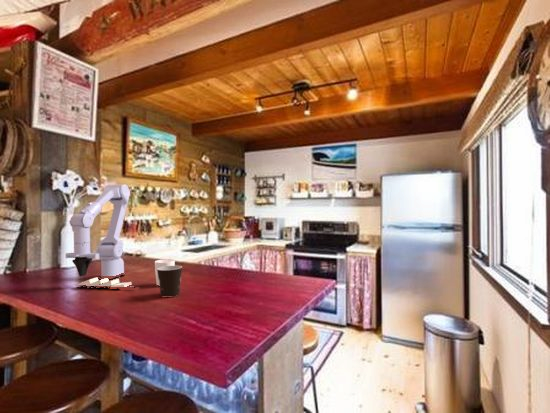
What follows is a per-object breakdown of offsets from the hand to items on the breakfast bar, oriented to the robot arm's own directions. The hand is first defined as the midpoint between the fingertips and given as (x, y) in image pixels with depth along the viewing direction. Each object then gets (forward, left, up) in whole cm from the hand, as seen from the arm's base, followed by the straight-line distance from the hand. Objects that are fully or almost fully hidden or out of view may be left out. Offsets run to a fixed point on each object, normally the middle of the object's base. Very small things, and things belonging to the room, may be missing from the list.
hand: (82, 275), depth 126 cm
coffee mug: (+4, +43, -5) cm, 43 cm away
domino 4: (0, +14, -4) cm, 15 cm away
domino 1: (0, -1, -4) cm, 4 cm away
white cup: (-8, +33, -5) cm, 34 cm away
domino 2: (0, +4, -4) cm, 5 cm away
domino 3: (0, +9, -4) cm, 9 cm away
